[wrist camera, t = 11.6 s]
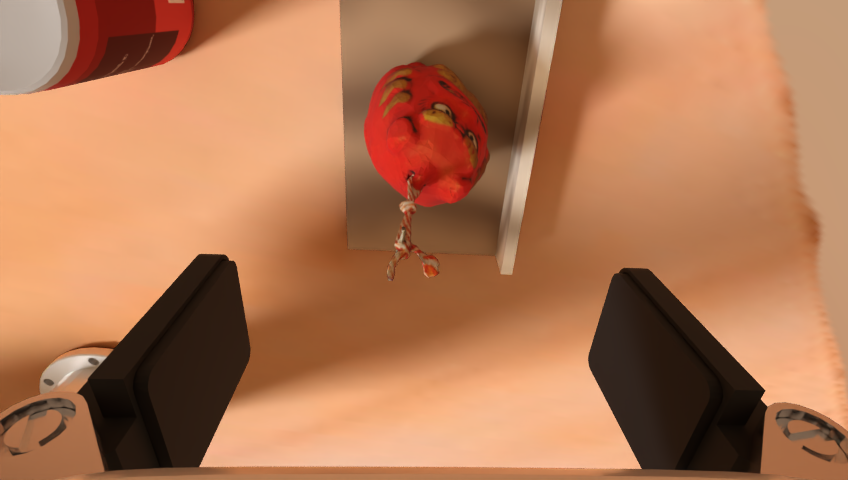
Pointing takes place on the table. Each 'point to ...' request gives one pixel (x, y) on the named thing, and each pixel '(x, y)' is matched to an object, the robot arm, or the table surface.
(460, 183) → the red clay folk toy
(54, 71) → the canned food
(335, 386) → the table surface
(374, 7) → the shelf board
